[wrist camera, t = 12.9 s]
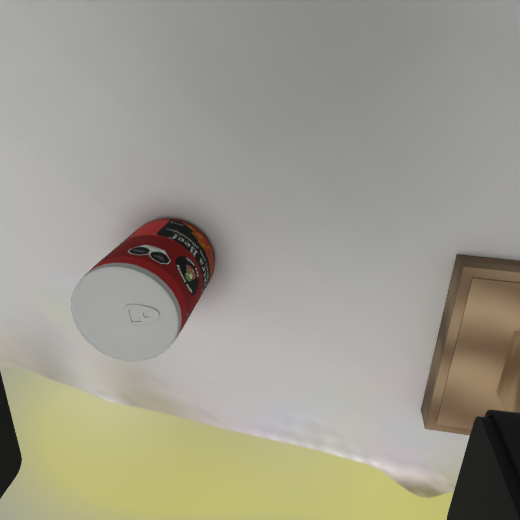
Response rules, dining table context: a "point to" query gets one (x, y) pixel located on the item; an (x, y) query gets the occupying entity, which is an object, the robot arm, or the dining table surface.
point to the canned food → (143, 290)
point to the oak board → (472, 343)
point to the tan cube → (511, 378)
